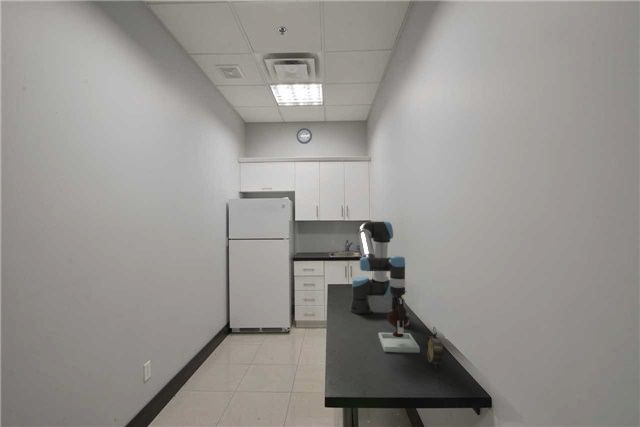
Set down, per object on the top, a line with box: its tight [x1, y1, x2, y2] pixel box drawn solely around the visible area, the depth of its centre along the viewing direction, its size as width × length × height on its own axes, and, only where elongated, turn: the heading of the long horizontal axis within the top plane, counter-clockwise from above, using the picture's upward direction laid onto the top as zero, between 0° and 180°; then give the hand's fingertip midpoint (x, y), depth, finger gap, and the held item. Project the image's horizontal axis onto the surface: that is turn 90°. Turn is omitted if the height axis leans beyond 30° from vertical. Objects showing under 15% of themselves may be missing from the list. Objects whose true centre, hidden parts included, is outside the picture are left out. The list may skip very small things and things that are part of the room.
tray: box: [378, 332, 421, 354], centre depth 139 cm, size 17×17×2 cm
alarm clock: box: [425, 326, 445, 370], centre depth 120 cm, size 11×5×16 cm, turn 174°
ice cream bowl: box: [386, 307, 410, 337], centre depth 140 cm, size 11×11×15 cm
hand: (397, 329), depth 139 cm, fingers closed on ice cream bowl, 11 cm apart
